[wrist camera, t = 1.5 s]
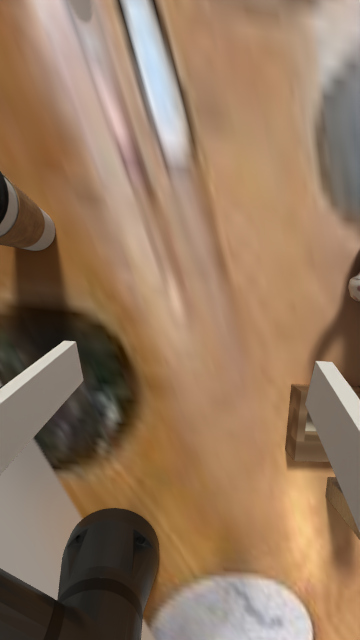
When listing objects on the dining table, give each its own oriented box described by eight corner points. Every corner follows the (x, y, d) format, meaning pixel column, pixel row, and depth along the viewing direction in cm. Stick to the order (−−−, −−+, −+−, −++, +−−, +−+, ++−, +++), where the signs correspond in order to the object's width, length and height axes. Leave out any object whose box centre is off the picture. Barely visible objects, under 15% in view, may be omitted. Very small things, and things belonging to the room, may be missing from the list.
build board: (361, 451, 41) (376, 463, 38) (285, 448, 40) (294, 461, 37) (369, 387, 40) (385, 394, 37) (291, 384, 39) (301, 391, 36)
